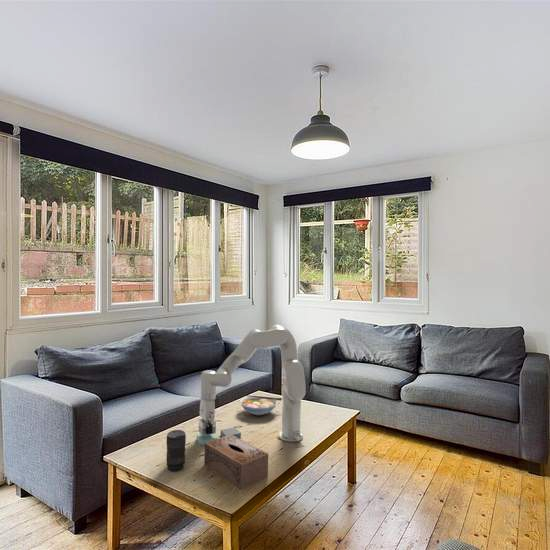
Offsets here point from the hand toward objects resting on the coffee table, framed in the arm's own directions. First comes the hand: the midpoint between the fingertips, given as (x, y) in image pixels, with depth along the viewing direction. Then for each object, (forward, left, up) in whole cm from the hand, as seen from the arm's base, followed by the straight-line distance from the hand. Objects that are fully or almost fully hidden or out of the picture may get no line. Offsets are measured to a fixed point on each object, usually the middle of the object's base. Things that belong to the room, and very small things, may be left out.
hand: (207, 430), depth 195 cm
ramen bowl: (+22, -41, -5) cm, 47 cm away
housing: (0, 0, -1) cm, 1 cm away
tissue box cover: (-33, -1, -6) cm, 33 cm away
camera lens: (-19, +21, -5) cm, 29 cm away
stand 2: (0, -13, -5) cm, 14 cm away
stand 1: (0, 0, -5) cm, 5 cm away
